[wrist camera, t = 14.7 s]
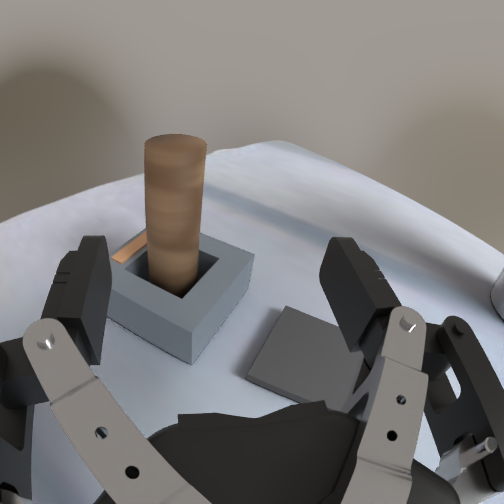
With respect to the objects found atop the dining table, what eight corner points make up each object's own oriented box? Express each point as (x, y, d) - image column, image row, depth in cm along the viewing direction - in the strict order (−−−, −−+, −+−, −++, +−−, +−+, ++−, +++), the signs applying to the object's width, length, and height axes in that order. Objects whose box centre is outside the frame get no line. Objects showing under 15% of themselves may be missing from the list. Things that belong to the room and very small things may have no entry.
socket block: (161, 250, 33) (161, 215, 30) (248, 288, 30) (255, 252, 28) (95, 308, 25) (85, 271, 23) (191, 365, 23) (192, 330, 20)
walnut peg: (168, 277, 30) (170, 130, 22) (204, 295, 29) (218, 142, 21) (142, 303, 27) (131, 145, 19) (180, 323, 26) (182, 159, 17)
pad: (283, 311, 29) (285, 305, 28) (365, 344, 27) (369, 338, 26) (245, 379, 23) (247, 373, 22) (345, 419, 21) (349, 415, 20)
